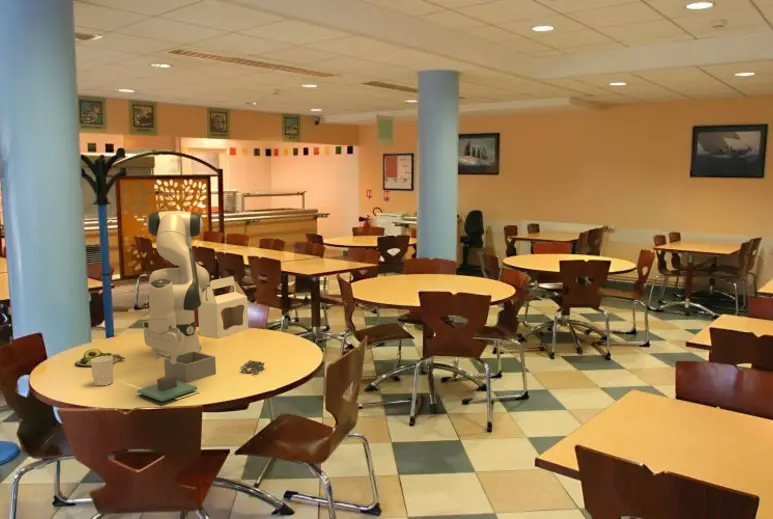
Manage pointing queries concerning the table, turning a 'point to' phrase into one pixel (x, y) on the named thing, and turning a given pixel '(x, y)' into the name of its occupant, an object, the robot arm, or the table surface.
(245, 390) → the table surface
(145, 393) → the lid
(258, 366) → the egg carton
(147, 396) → the rubber mat
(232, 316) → the gable box
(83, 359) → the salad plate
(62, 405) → the table surface
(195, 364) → the storage box
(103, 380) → the tan cup
